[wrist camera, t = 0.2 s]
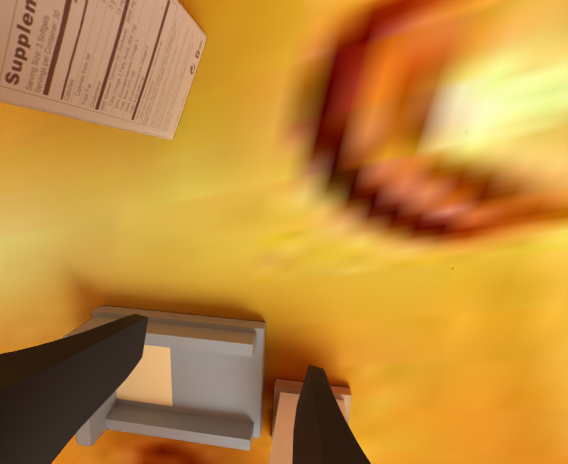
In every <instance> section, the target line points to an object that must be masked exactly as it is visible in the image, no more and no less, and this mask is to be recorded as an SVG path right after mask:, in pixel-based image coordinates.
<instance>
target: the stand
mask: <svg viewBox="0 0 568 464" xmlns="http://www.w3.org/2000/svg"><path fill="white" fill-rule="evenodd" d="M303 383H304V382H298V381H290V380H282V379H276V380H275V386H274V406H273V427H272V440H273V434H274V428H275V422H276V416H277V410H278V404H279V398H280V392H284V393H291V394H299V395H300V393H301V389H302V386H303ZM330 387H331V389H332V391H333V394H334V396H335V399H339V400H344V404H345V412H346V420H347V424H348V419H349V410H350V402H351V391H350V388H347V387H339V386H331V385H330Z"/></svg>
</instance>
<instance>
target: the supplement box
mask: <svg viewBox="0 0 568 464" xmlns="http://www.w3.org/2000/svg"><path fill="white" fill-rule="evenodd" d="M206 40H207V36H206V34H205V33H204V32H203V31H202V30H201V28H200V27H199V26H198V25H197V23H196V22H195V21H194V20H193V18H192V17H191V16H190V15H189V14H188V12H187V11H186V10H185V9H184V7H183V6H182V5H181V4H180V2H179V1H178V0H0V102H3V103H7V104H11V105H16V106H20V107H25V108H30V109H34V110H38V111H43V112H48V113H52V114H56V115H61V116H65V117H69V118H74V119H78V120H82V121H86V122H91V123H95V124H100V125H104V126H109V127H113V128H118V129H123V130H127V131H132V132H137V133H141V134H146V135H151V136H155V137H161V138H165V139H170V140H172V139H173V137H174V134H175V132H176V129H177V126H178V123H179V120H180V117H181V114H182V112H183V109H184V105H185V103H186V99H187V97H188V94H189V91H190V88H191V85H192V82H193V79H194V76H195V74H196V70H197V67H198V64H199V61H200V58H201V55H202V52H203V49H204V46H205V43H206Z"/></svg>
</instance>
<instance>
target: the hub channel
mask: <svg viewBox="0 0 568 464" xmlns="http://www.w3.org/2000/svg"><path fill="white" fill-rule="evenodd" d="M132 314H139V315H142V316H146V317H148V324H147V330H146V337H145V343H144V350H143V356H142V359H141V360H140V361H139V363H138V364H137V366H136V367H135V368H134V370H133V371H132V372H131V374H130V375H129V376H128V378H127V379H126V380H125V381H124V382H123V383H122V384H121V385H120V387H119V388H118V389H117V390H116V391H115V392H114V393H113V394H112V395H111V396H110V397H109V398H108V399H107V400H106V401H105V403H104V404H103V405H102V406H101V407H100V408H99V409H98V410H97V411H96V412H95V413H94V414H93V415H92V416H91V417H90V418H89V419H88V420H87V422H86V423H85V424H84V425H83V426H82V427H81V428H80V429H79V430H78V431H77V432H76V439H77V444H79V445H85V446H91V447H92V445H93V444H94V443H95V442H96V441H97V439H98V438H99V437H100V436H101V434H102V433H103V432H104V431H105V430H106V429H108V430H114V431H121V432H128V433H134V434H141V435H148V436H154V437H161V438H168V439H174V440H181V441H188V442H194V443H201V444H208V445H214V446H221V447H228V448H234V449H241V450H248V451H250V448H251V443H252V439H253V437H255V438H260V435H261V430H262V414H263V387H264V360H265V333H266V322H259V321H249V320H240V319H230V318H220V317H211V316H201V315H191V314H181V313H172V312H162V311H152V310H142V309H133V308H123V307H113V306H103V305H101V306H99V307H97V308H96V309H94V310H93V311H92V317H93V318H92V319H90V320H89V321H87V322H85V323H84V324H82V325H81V326H79V327H78V328H76V329H75V330H73V331H72V332H70V333H69V334H67V335H65V336H64V337H63V338H66V337H69V336H72V335H75V334H78V333H81V332H84V331H87V330H90V329H93V328H95V327H98V326H101V325H104V324H107V323H109V322H112V321H115V320H118V319H120V318H123V317H126V316H129V315H132Z"/></svg>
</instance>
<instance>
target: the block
mask: <svg viewBox="0 0 568 464" xmlns="http://www.w3.org/2000/svg"><path fill="white" fill-rule="evenodd" d="M299 396H300V395H299V394H291V393H284V392H280V398H279V404H278V410H277V416H276V422H275V428H274V434H273V440H272V446H271V452H270V458H269V464H292V456H293V429H294V422H295V414H296V407H297V402H298V399H299ZM336 401H337V403H338V405H339V407H340V410H341V412H342V414H343V416H344V418H345V420H346V412H345V404H344V400H339V399H336ZM346 422H347V420H346Z"/></svg>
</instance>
